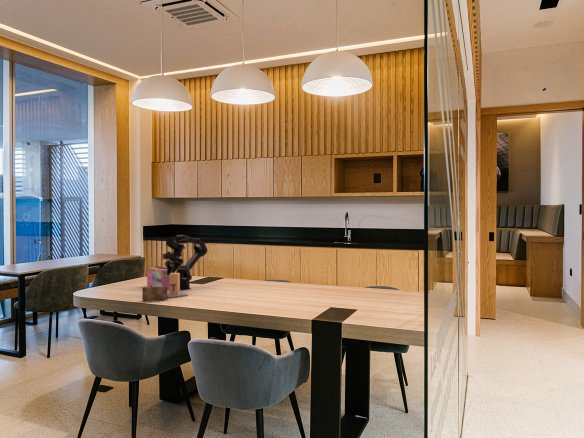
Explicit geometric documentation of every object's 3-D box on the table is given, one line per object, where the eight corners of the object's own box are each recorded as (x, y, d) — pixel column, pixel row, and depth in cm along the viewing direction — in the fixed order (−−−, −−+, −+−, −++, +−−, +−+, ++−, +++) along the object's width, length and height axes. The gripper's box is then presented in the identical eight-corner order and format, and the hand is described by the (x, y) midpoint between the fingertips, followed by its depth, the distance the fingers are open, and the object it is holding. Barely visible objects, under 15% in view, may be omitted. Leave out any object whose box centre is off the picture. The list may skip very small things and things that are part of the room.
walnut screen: (167, 298, 273) (166, 285, 273) (167, 300, 268) (167, 286, 268) (142, 300, 269) (142, 286, 269) (142, 301, 264) (142, 288, 264)
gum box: (145, 285, 322) (145, 266, 322) (156, 284, 328) (156, 265, 328) (162, 289, 305) (162, 269, 305) (173, 288, 311) (172, 268, 311)
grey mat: (179, 293, 291) (179, 291, 291) (187, 295, 282) (187, 294, 282) (161, 295, 284) (161, 293, 284) (169, 298, 275) (169, 296, 275)
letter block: (171, 293, 286) (171, 272, 285) (179, 293, 285) (179, 272, 285) (169, 294, 280) (169, 274, 280) (177, 294, 280) (177, 274, 280)
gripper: (161, 250, 305) (153, 272, 298) (171, 245, 290) (163, 268, 284) (176, 256, 310) (169, 278, 303) (186, 251, 295) (179, 273, 289)
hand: (170, 274), depth 295 cm, fingers open, 9 cm apart
